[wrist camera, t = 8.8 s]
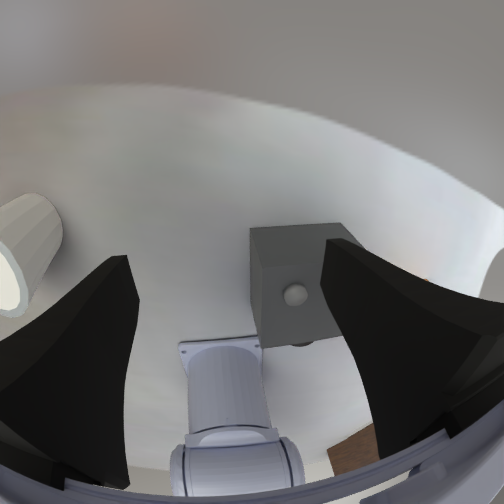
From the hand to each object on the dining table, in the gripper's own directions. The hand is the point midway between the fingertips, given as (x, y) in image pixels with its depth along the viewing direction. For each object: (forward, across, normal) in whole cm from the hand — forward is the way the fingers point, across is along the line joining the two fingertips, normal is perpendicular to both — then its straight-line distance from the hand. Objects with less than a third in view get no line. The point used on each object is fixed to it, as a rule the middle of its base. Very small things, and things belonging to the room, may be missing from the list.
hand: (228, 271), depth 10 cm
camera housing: (+9, -6, +6) cm, 13 cm away
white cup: (+10, +15, +1) cm, 18 cm away
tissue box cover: (+10, -35, +66) cm, 75 cm away
